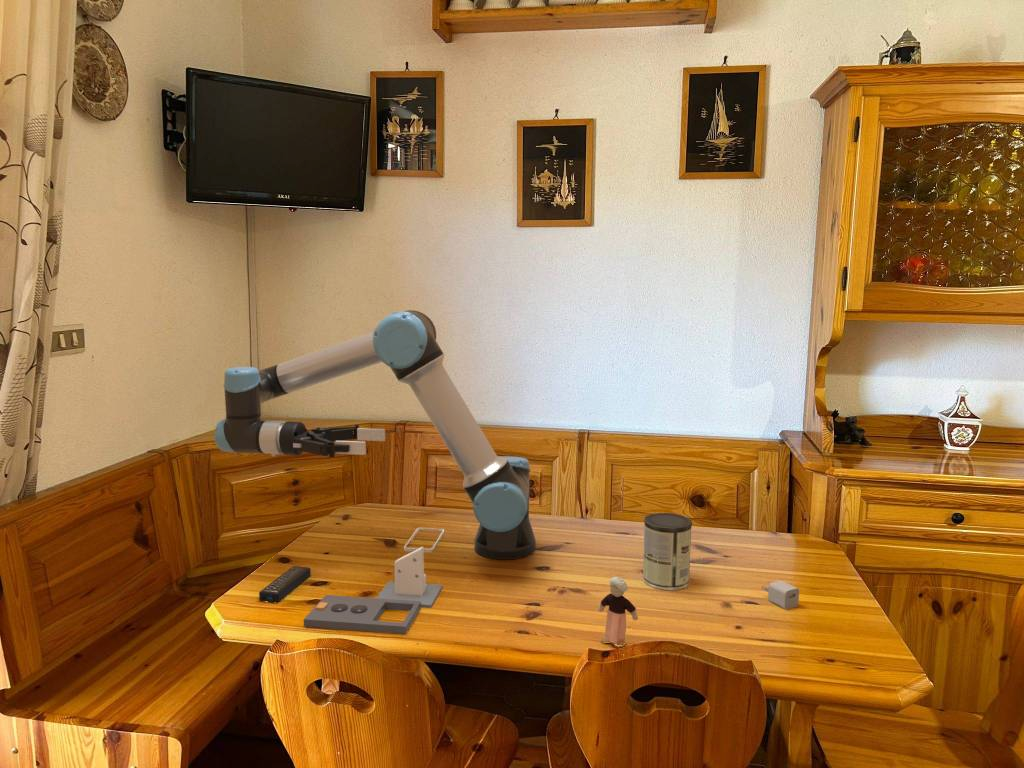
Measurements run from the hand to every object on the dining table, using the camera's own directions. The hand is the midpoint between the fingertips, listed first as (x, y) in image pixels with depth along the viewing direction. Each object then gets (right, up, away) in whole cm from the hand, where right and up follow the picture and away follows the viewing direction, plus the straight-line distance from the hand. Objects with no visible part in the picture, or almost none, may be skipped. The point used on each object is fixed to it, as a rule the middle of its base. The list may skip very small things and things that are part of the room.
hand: (375, 441), depth 161 cm
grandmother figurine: (+49, -35, -28) cm, 67 cm away
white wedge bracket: (+9, -31, -8) cm, 33 cm away
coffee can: (+64, -31, 0) cm, 72 cm away
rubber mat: (+9, -32, -9) cm, 34 cm away
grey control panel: (+1, -33, -19) cm, 38 cm away
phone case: (+8, -28, +23) cm, 37 cm away
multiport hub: (-18, -32, -6) cm, 37 cm away
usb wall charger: (+86, -33, -10) cm, 92 cm away
